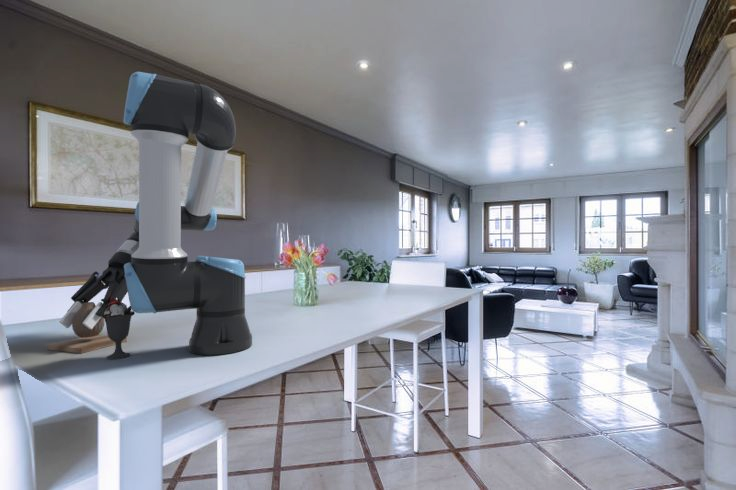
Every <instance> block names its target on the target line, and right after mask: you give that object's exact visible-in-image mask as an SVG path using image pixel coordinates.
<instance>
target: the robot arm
mask: <svg viewBox="0 0 736 490" xmlns="http://www.w3.org/2000/svg"><path fill="white" fill-rule="evenodd" d="M123 113H124V114H123V124H124V125H127V126H130V134H131V135H132V136H133V137H134V138H135V139H136V140H137V142H138V202H137V204H136V208H135V210H134V222H133V223H134V224H133V230H132V233H130V235H129V237H128V238H126V240H125V241H124V242H123V243H122V244H121V245H120V247H118V249H117V250H116V252H115V253H114V254H113V255H112V256H111V258H110V259H109V260H108V262H107V264H108V266H107V268H106V269H105V270H103V271H102V272H98V271H94V272H92V274H91V275H90V277H89V279H87V280H86V281H85V283H84V284H83V285H81V287H80V288H79V289H78V290H77V291H76V292H75V293H74V294H73V295H71V297H70V299H71V300H72V301H73V302H74V303H72V305H70V308H68V309H67V312H66V313H65V314H64V315H63V316H62V318H61V319H59V321H58V322H59V323H60V324H61V325H62V326H64V327H65V329H69V328H70V327H72V320H73V317H74V315H75V313H76V312H77V311H78V310H79V309H80V308H81V306H82V304H83V303H86V302H91V300H92V299H94V298H95V297H96V296H97V295H98V294H99V293H101V292H102V291H103V290H106V289H107V290H106V292H105V295H104V298H101V299H100V301H98V303H97V304H95V305H96V306H95V308H94V309H93V310H92V311H91V313H90V314H89V315H88V317H87V318H86V319H85V320H84V322H83V324H84V325H85V326H86V327H88V328H89V329H92V328H93V327H94V326H95V325H96V323H97V322H98V321H99V319H100V318H101V317H102V316H101V315H104V312H105V310H106V309H107V308H108V307H109V305H108V304H109V303H110V302H111V298H112V297H113V298H114V299H115V300H118V302H123V300H124V298H125V297H126V295H127V294H128V301H129V306H131V311H133V312H135V313H136V314H151V313H153V314H157V313H163V312H172V311H174V312H175V311H183V310H185V311H186V310H194V309H195V310H196V320H195V323H194V326H193V329H192V333H191V336H190V338H189V341H188V351H189V352H190V353H192V354H195V355H203V356H215V355H227V354H232V353H236V352H237V353H238V352H241V351H244V350H247V349H248V348H251V346H252V345H253V335H252V333H251V330H250V327H249V324H248V321H247V318H246V292H245V291H246V290H245V289H246V287H245V286H246V282H245V281H246V280H245V279H246V277H247V276H246V275H245V274H246V273H245V264H244V263H243V261H241V260H240V259H236V258H226V257H225V258H224V257H215V256H206V255H197V256H196V257H195V259H194V260H195V261H188V258H189V257H188V253H187V252H186V251H185V250H183V248H182V246H181V245H182V244H181V243H182V242H181V241H182V238H181V237H182V236H181V235H182V231H196V232H197V231H199V232H203V231H213V230H215V228H216V227H217V220H218V219H217V217H218V214H217V211H216V209H215V207H213V206H214V202H215V198H216V194H217V191H218V188H219V187H218V186H219V183H220V179H221V175H222V172H223V169H224V165H225V162H226V157H227V155H228V151H230V150H232V148H233V146H234V145H235V140H236V136H237V135H236V134H237V125H236V120H235V116H234V114H233V111H232V109H231V107H230V105H229V103H228V102H227V100H226V99H225V98H224V97H223V96H222V95H221V94H220V93H219V92H218V91H216V90H215V89H214V88H211V86H208V85H206V84H202V83H194V82H192V81H187V80H183V79H179V78H178V79H177V78H173V77H170V76H164V75H161V74H157V73H149V72H144V71H143V72H142V71H136V72H133V73H132V74H131V75H130V77H129V81H128V88H127V93H126V99H125V105H124V112H123ZM189 134H190V135H194V137H195V140H196V143H197V144H196V148H195V153H194V156H193V157H194V158H193V162H192V163H193V164H192V168H191V173H190V176H189V177H190V178H189V185H188V188H187V192H186V198H185V203H184V205H182V147H183V146H184V145H185V144H187V143H188V142H189ZM107 294H110V295H111V296H110V295H109V296H108V295H107ZM113 298H112V302H113V301H114V299H113Z"/></svg>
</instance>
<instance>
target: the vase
mask: <svg viewBox="0 0 736 490" xmlns="http://www.w3.org/2000/svg"><path fill="white" fill-rule="evenodd" d="M96 305H97V304H96V303H95V302H93V301H89V302H86V303H83V304H82V306H81V308H80V309H79V310H78V311H77V312H76V313H75V315H74V317H73V320H72V325H71V328H72V331H73V333H74V334H75V335H76V336H77V338H80V337H81V338H86V337H93V336H97V335H98V334H100V333H102V331H103V329H104V326H105V323H106V322H105V319H104V318H103V317H101V318H100V319H99V321H98V322H97V323H96V325H95V326H94V327H93V328H92V329H89V328H88V327H86V326H85V325H84V324H83V322H84V320H85V319H86V318H87V317H88V315H89V314H90V313H91V311H92V310H93V309H94V308H95V306H96Z"/></svg>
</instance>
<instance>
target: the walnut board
mask: <svg viewBox="0 0 736 490" xmlns="http://www.w3.org/2000/svg"><path fill="white" fill-rule="evenodd" d="M127 338H128V336H127V337H126V338H125V339H124V340H123V341H122V342H121V344H122V343H126V342H127ZM110 346H116V343H115V342H114V341H112V340H111V339H110V338H109V337H108V334H107V335H106V334H100V333H99V334H98V335H97V336H93V337H86V338H81V337H76V338H72V339H67V340H63V341H62V340H61V341H58V342H54V343H50V344H47V350H49V351H59V352H67V353H74V354H85V353H88V352H92V351H96V350H99V349H103V348H107V347H110Z"/></svg>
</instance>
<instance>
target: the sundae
mask: <svg viewBox="0 0 736 490" xmlns="http://www.w3.org/2000/svg"><path fill="white" fill-rule="evenodd" d="M107 295H108V296H109V295H110V294H107ZM110 296H111V295H110ZM112 298H113V297H112ZM112 298H111V302H110V303H109V304H108V305H109V307H108V308H107V309H106V310H105V312H104V315H101V316H102V317H103V318H104V320H105V322H104V323H105V326H106V333H107V335H108V337H109V338H110V339H111V340H112V341H114V342H115V343H116V344H115V349H114V352H113V353H111V354H110V355H109V354H108V355H107V356H106V357H105V359H106V360H120V359H124V358H128V357H130V356H131V352H126V351H125V352H124V350H123V348H122V343H121V342H122V341H123V340H124V339H125V338H126V337H127V338H128V336H129V333H130V327H131V322H132V321H131V319H132V317H133V316H134V315H135V313H136V312H134V311H133V310H132V309H131V306H130V305H129V306H127V304H125V303H124V302H123V301H121V302H118V300H115V299H114V298H113V299H114V301H113V302H112Z"/></svg>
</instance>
